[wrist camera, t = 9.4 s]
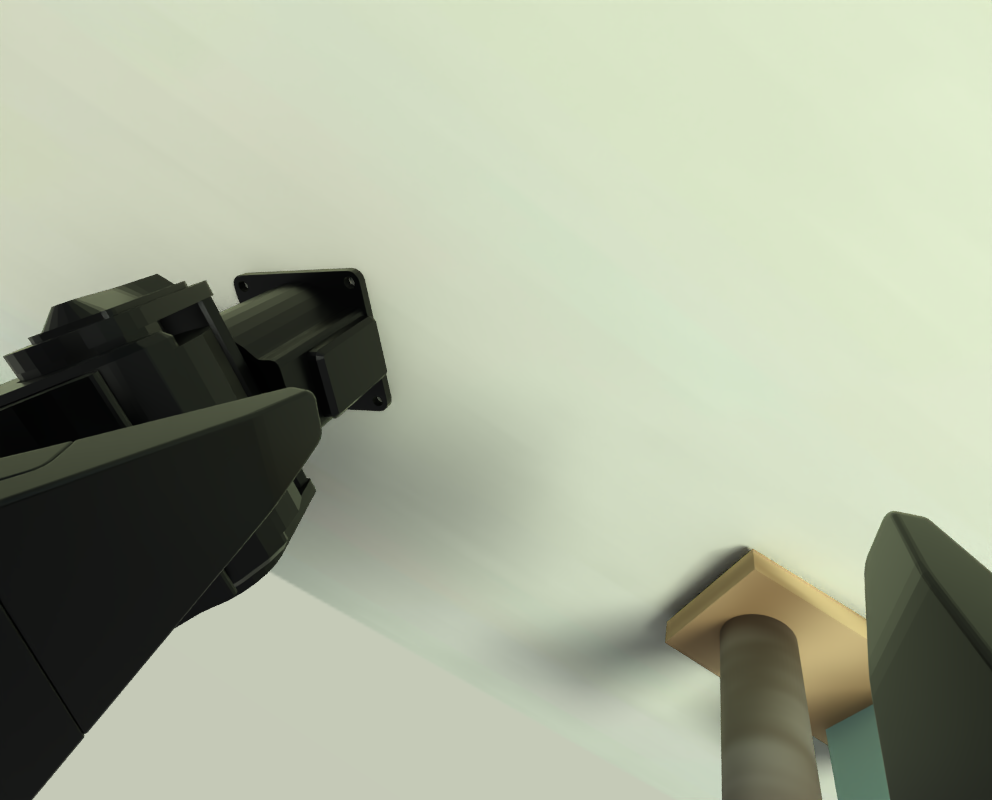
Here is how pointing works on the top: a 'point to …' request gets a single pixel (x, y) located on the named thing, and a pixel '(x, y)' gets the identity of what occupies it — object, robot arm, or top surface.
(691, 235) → the top surface
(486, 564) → the top surface
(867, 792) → the cube
